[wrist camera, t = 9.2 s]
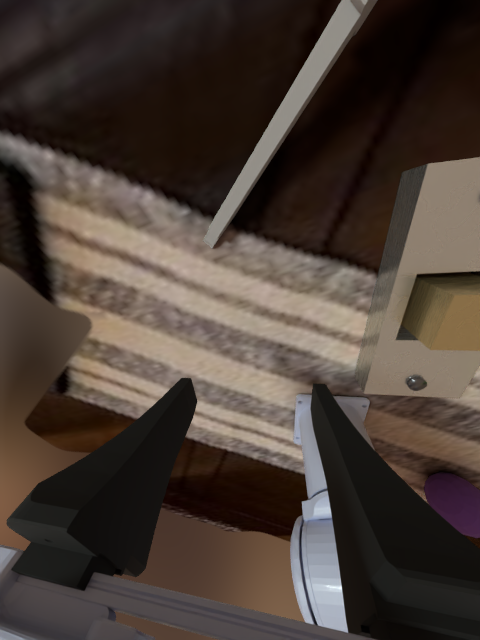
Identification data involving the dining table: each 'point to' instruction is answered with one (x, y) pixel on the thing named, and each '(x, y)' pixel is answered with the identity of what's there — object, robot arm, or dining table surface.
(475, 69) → the dining table surface
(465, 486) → the purple maraca
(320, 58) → the caliper
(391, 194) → the dining table surface
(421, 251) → the white slotted plate
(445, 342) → the block
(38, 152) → the dining table surface
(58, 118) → the dining table surface
